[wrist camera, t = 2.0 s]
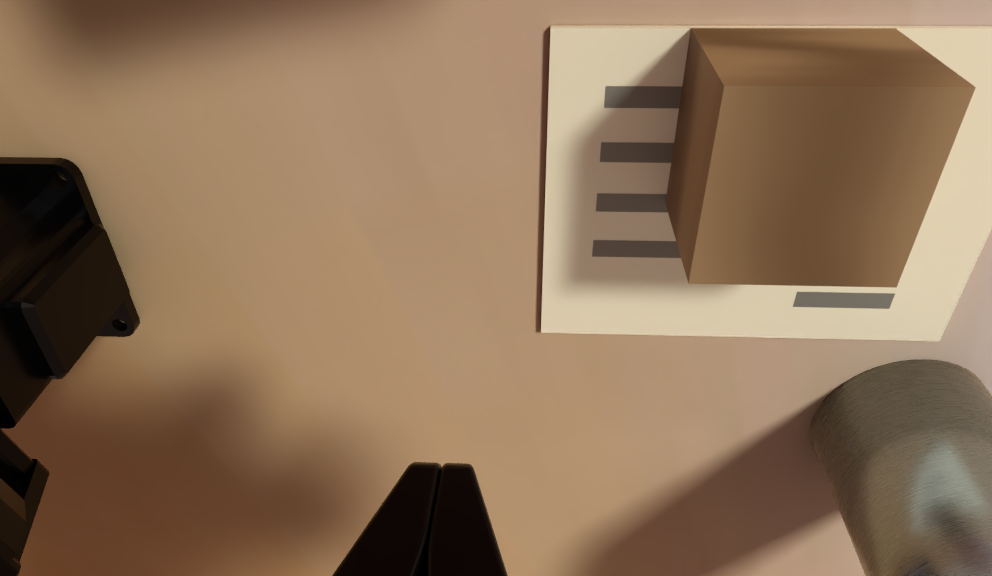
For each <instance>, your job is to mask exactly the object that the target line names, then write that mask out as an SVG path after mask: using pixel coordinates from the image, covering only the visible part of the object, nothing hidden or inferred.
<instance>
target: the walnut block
mask: <svg viewBox="0 0 992 576" xmlns="http://www.w3.org/2000/svg"><path fill="white" fill-rule="evenodd" d="M975 88H976V87H975V86H973V85H972V84H971V83H969V82H968V81H967V80H965V79H964V78H963V77H961V76H960V75H958V74H957V73H956V72H954V71H953V70H952V69H950V68H949V67H948V66H946V65H945V64H943V63H942V62H941V61H939V60H938V59H937V58H935V57H934V56H933V55H931V54H930V53H929V52H927V51H926V50H924V49H923V48H922V47H920V46H919V45H918V44H916V43H915V42H914V41H912V40H911V39H909V38H908V37H907V36H905V35H904V34H903V33H901V32H900V31H899V30H897V29H896V28H691V30H690V37H689V44H688V51H687V58H686V65H685V72H684V79H683V85H682V92H681V99H680V106H679V113H678V120H677V127H676V134H675V140H674V147H673V154H672V161H671V168H670V175H669V182H668V189H667V196H666V202H665V204H666V207H667V211H668V214H669V218H670V221H671V225H672V228H673V232H674V235H675V239H676V242H677V246H678V249H679V253H680V256H681V260H682V263H683V267H684V270H685V273H686V277H687V280H688V284H731V285H785V286H840V287H895V288H897V285H898V283H899V280H900V278H901V275H902V272H903V270H904V267H905V265H906V262H907V260H908V257H909V255H910V252H911V250H912V247H913V245H914V242H915V240H916V237H917V235H918V232H919V229H920V227H921V224H922V222H923V219H924V217H925V214H926V212H927V209H928V207H929V204H930V202H931V199H932V197H933V194H934V192H935V189H936V187H937V184H938V181H939V179H940V176H941V174H942V171H943V169H944V166H945V164H946V161H947V159H948V156H949V154H950V151H951V149H952V146H953V144H954V141H955V138H956V136H957V133H958V131H959V128H960V126H961V123H962V121H963V118H964V116H965V113H966V111H967V108H968V106H969V103H970V101H971V98H972V95H973V93H974V90H975Z"/></svg>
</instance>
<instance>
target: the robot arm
mask: <svg viewBox="0 0 992 576" xmlns="http://www.w3.org/2000/svg"><path fill="white" fill-rule="evenodd" d="M57 172H59V173H61V174H62V175H64V176H65V178H66V179H67V181H66V180H63V179H62V178H61V177H60V176H59V175H58V174H57ZM120 320H121V321H123V322H125V323H123V322H121V321H120ZM139 323H140V320H139V316H138V314H137V311H136V309H135V306H134V304H133V301H132V299H131V296H130V294H129V288H128V286H127V283H126V281H125V278H124V276H123V273H122V271H121V268H120V265H119V263H118V260H117V258H116V255H115V253H114V250H113V248H112V245H111V243H110V240H109V238H108V235H107V232H106V231H105V229H104V228H103V225H102V223H101V220H100V218H99V215H98V213H97V210H96V208H95V205H94V203H93V200H92V197H91V195H90V192H89V190H88V187H87V185H86V182H85V180H84V177H83V175H82V173H81V171H80V169H79V168H78V167H77V166H76V165H75V164H74V163H73V162H71V161H69V160H67V159H62V158H18V157H0V428H14V426H15V425H16V424H17V423H18V421H19V420H20V419H21V418H22V416H23V415H24V414H25V413H26V411H27V410H28V409H29V408H30V406H31V405H32V404H33V403H34V401H35V400H36V399H37V398H38V396H39V395H40V394H41V393H42V391H43V390H44V389H45V388H46V386H47V385H48V384H49V383H50V381H51V380H52V379H62V378H63V377H65V375H66V374H67V373H68V372H69V371H70V369H71V368H72V367H73V365H74V364H75V363H76V362H77V360H78V359H79V358H80V356H81V355H82V354H83V353H84V351H85V350H86V349H87V347H88V346H89V345H90V344H91V342H92V341H93V340H94V338H95V337H96V336H117V337H125V336H130V335H132V334H133V333H134V331H135V330H136V329H137V327H138V326H139ZM48 476H49V471H48V470H47V469H46V468H45V467H44V466H43V465H42V464H41V463H40V462H39V461H38V460H37V459H31V458H30V457H29V456H28V455H27V454H26V453H25V452H24V451H23V450H22V449H21V448H20V447H19V446H18V445H17V444H16V443H15V442H14V441H13V440H12V439H11V438H10V437H9V436H8V435H6V434H5V433H4V432H3V431H2V430H1V429H0V576H18V575H19V571H20V568H21V564H20V559H21V556H22V553H23V550H24V547H25V544H26V541H27V538H28V535H29V532H30V529H31V526H32V523H33V520H34V517H35V515H36V512H37V509H38V506H39V503H40V500H41V497H42V494H43V491H44V488H45V485H46V482H47V479H48ZM333 576H507V572H506V569H505V566H504V563H503V560H502V557H501V553H500V550H499V547H498V544H497V541H496V538H495V534H494V531H493V528H492V525H491V522H490V519H489V515H488V512H487V509H486V506H485V503H484V500H483V496H482V493H481V490H480V487H479V484H478V481H477V478H476V474H475V471H474V468H473V467H472V465H470V464H459V463H446V464H444V465H443V466H442V467H441V465H440V464H438V463H427V462H414V463H412V464H410V465H409V466H408V468H407V469H406V470H405V472H404V473H403V475H402V476H401V477H400V479H399V480H398V482H397V483H396V485H395V486H394V488H393V489H392V490H391V492H390V493H389V495H388V496H387V498H386V499H385V501H384V502H383V503H382V505H381V506H380V508H379V509H378V511H377V512H376V514H375V515H374V516H373V518H372V519H371V521H370V522H369V524H368V525H367V527H366V528H365V529H364V531H363V532H362V534H361V535H360V537H359V538H358V539H357V541H356V542H355V544H354V545H353V547H352V548H351V550H350V551H349V552H348V554H347V555H346V557H345V558H344V560H343V561H342V563H341V564H340V565H339V567H338V568H337V570H336V571H335V573H334V574H333Z"/></svg>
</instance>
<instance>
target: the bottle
mask: <svg viewBox="0 0 992 576" xmlns="http://www.w3.org/2000/svg"><path fill="white" fill-rule="evenodd" d="M811 440H812V443H813V446H814V449H815V451H816V454H817V456H818V459H819V461H820V464H821V466H822V469H823V471H824V473H825V476H826V478H827V481H828V483H829V486H830V488H831V491H832V493H833V496H834V498H835V501H836V503H837V506H838V508H839V511H840V513H841V516H842V518H843V521H844V523H845V526H846V528H847V531H848V533H849V536H850V538H851V541H852V543H853V546H854V548H855V551H856V553H857V555H858V558H859V560H860V563H861V565H862V568H863V570H864V573H865V575H866V576H992V396H991V394H990V393H989V391H988V390H987V389H986V387H985V386H984V384H983V383H982V382H981V380H980V379H979V378H978V377H977V376H976V375H975V374H973V373H972V372H970V371H969V370H967V369H965V368H963V367H961V366H959V365H955V364H952V363H949V362H944V361H938V360H908V361H900V362H895V363H890V364H886V365H883V366H879V367H876V368H874V369H871V370H868V371H866V372H864V373H862V374H859V375H857V376H855V377H853V378H852V379H850V380H848V381H847V382H845V383H844V384H842V385H841V386H840V387H838V388H837V389H836V390H834V391H833V392H832V393H831V394H830V395H829V396H828V397H827V398H826V399H825V400H824V402H823V403H822V404H821V405H820V407H819V408H818V410H817V411H816V414H815V416H814V418H813V421H812V425H811Z"/></svg>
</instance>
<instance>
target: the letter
mask: <svg viewBox="0 0 992 576" xmlns="http://www.w3.org/2000/svg"><path fill="white" fill-rule="evenodd" d="M691 28H896V29H897V30H899V31H900V32H901V33H903V34H904V35H905V36H907V37H908V38H909V39H911V40H912V41H914V42H915V43H916V44H918V45H919V46H920V47H922V48H923V49H924V50H926V51H927V52H929V53H930V54H931V55H933V56H934V57H935V58H937V59H938V60H939V61H941V62H942V63H943V64H945V65H946V66H948V67H949V68H950V69H952V70H953V71H954V72H956V73H957V74H958V75H960V76H961V77H963V78H964V79H965V80H967V81H968V82H969V83H971V84H972V85H973V86H975V87H976V88H975V90H974V93H973V95H972V98H971V101H970V103H969V106H968V108H967V111H966V113H965V116H964V118H963V121H962V123H961V126H960V128H959V131H958V133H957V136H956V138H955V141H954V144H953V146H952V149H951V151H950V154H949V156H948V159H947V161H946V164H945V166H944V169H943V171H942V174H941V176H940V179H939V181H938V184H937V187H936V189H935V192H934V194H933V197H932V199H931V202H930V204H929V207H928V209H927V212H926V214H925V217H924V219H923V222H922V224H921V227H920V229H919V232H918V235H917V237H916V240H915V242H914V245H913V247H912V250H911V252H910V255H909V257H908V260H907V262H906V265H905V267H904V270H903V272H902V275H901V278H900V280H899V283H898V285H897V288H895V287H840V286H785V285H731V284H688V280H687V277H686V273H685V270H684V267H683V263H682V260H681V256H680V253H679V249H678V246H677V242H676V239H675V235H674V232H673V228H672V225H671V221H670V218H669V214H668V211H667V207H666V204H665V202H666V196H667V189H668V182H669V175H670V168H671V161H672V154H673V147H674V140H675V134H676V127H677V120H678V113H679V106H680V99H681V92H682V85H683V79H684V72H685V65H686V58H687V51H688V44H689V37H690V30H691ZM991 229H992V26H550V58H549V89H548V121H547V153H546V184H545V216H544V248H543V280H542V311H541V333H581V334H627V335H673V336H719V337H765V338H811V339H857V340H903V341H940V339H941V337H942V334H943V332H944V330H945V328H946V326H947V324H948V322H949V319H950V317H951V315H952V313H953V311H954V309H955V306H956V304H957V302H958V300H959V298H960V296H961V294H962V291H963V289H964V287H965V285H966V283H967V281H968V279H969V276H970V274H971V272H972V270H973V268H974V266H975V263H976V261H977V259H978V257H979V255H980V253H981V251H982V248H983V246H984V244H985V242H986V240H987V238H988V236H989V233H990V231H991Z"/></svg>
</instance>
